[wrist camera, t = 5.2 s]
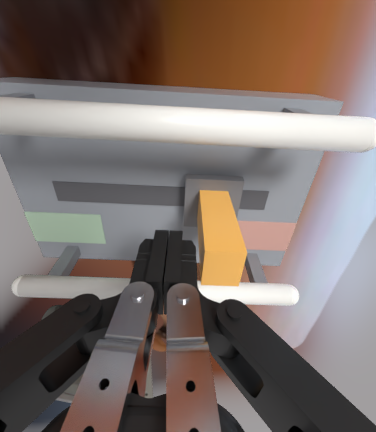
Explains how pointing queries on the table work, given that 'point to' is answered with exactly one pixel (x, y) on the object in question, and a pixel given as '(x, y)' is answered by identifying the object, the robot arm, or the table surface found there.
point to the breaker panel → (161, 171)
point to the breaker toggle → (216, 226)
